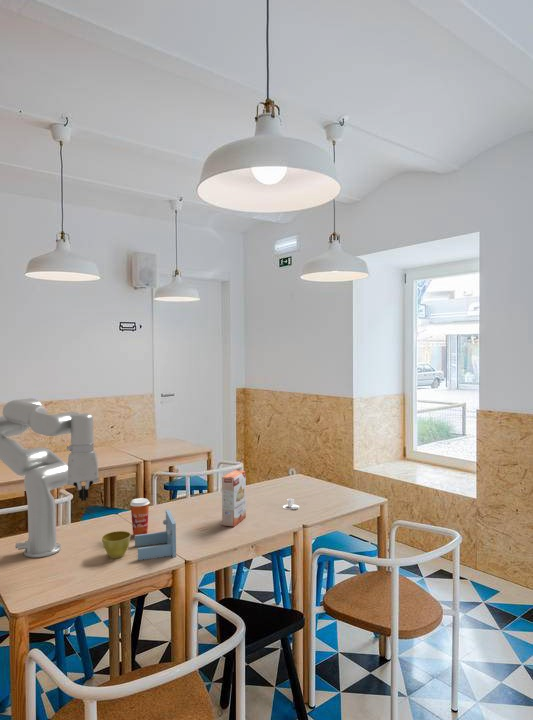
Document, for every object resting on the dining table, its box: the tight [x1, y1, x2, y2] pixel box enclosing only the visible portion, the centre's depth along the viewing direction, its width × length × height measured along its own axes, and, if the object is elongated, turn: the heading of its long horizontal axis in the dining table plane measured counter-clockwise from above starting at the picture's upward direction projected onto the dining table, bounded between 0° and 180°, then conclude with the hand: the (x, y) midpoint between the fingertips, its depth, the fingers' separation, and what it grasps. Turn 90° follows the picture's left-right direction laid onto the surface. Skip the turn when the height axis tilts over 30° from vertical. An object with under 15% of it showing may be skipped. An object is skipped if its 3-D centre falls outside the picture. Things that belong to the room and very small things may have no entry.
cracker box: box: [221, 469, 247, 527], centre depth 222 cm, size 14×6×21 cm, turn 161°
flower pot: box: [101, 530, 131, 559], centre depth 186 cm, size 10×10×7 cm
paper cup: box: [129, 497, 151, 538], centre depth 207 cm, size 8×8×14 cm
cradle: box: [134, 508, 177, 561], centre depth 190 cm, size 13×18×12 cm
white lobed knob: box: [282, 498, 300, 510], centre depth 241 cm, size 9×8×4 cm
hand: (83, 499), depth 182 cm, fingers closed
